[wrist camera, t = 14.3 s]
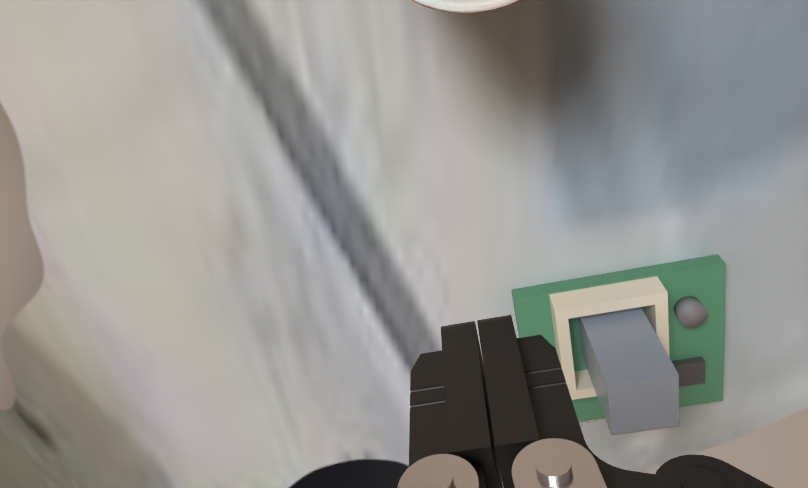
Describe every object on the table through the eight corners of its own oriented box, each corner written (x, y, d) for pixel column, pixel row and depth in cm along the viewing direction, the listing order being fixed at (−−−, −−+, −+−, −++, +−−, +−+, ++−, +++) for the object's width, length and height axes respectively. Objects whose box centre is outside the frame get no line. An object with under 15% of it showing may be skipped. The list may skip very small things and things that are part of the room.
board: (717, 254, 43) (739, 278, 40) (715, 389, 48) (734, 419, 45) (511, 289, 44) (517, 315, 42) (532, 416, 50) (538, 447, 47)
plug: (635, 297, 43) (678, 374, 36) (638, 353, 45) (679, 435, 38) (576, 307, 44) (607, 384, 36) (582, 362, 46) (612, 444, 39)
